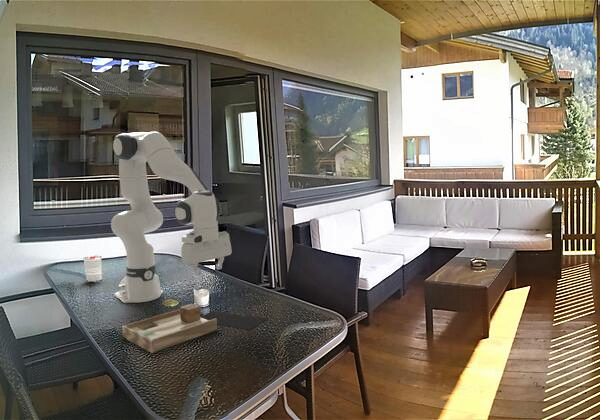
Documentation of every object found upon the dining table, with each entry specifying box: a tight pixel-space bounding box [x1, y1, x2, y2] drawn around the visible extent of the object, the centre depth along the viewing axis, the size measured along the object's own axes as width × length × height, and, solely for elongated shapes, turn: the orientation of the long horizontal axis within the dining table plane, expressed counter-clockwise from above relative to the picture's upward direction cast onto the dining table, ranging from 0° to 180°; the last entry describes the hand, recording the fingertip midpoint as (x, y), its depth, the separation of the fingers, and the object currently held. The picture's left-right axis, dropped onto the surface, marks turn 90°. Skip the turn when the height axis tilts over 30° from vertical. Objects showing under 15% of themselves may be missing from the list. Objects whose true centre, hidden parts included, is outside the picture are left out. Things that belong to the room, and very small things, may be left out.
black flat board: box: [200, 310, 269, 331], centre depth 177 cm, size 12×1×30 cm
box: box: [121, 308, 218, 354], centre depth 163 cm, size 20×25×4 cm
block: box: [179, 303, 201, 324], centre depth 169 cm, size 5×5×5 cm
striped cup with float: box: [83, 255, 103, 281], centre depth 235 cm, size 10×8×12 cm
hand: (208, 271), depth 173 cm, fingers open, 8 cm apart
